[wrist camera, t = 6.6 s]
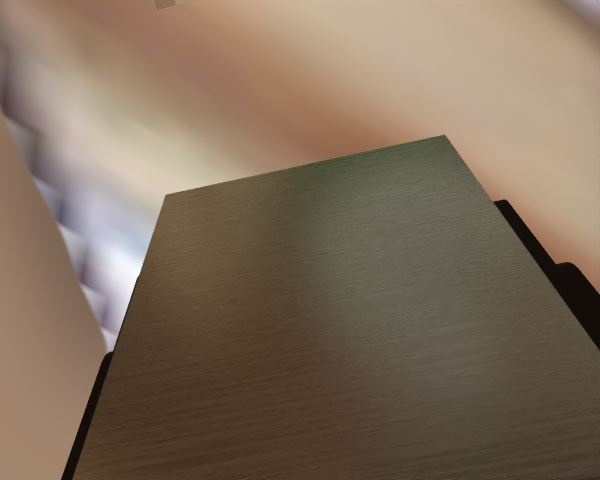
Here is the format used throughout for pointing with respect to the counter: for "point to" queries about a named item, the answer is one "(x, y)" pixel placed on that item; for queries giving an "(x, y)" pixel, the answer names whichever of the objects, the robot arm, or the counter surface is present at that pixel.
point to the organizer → (169, 3)
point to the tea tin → (346, 336)
